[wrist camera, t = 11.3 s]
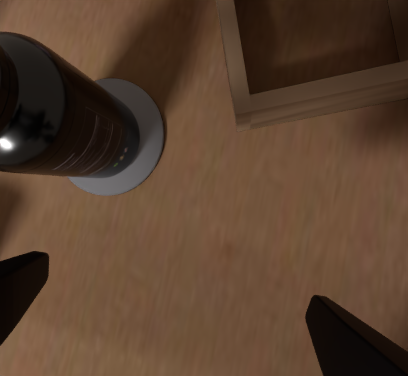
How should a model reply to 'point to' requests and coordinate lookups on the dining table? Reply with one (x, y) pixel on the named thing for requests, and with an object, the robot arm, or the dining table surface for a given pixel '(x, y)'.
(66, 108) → the supplement bottle
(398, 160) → the dining table surface
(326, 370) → the robot arm
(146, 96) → the coaster
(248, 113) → the walnut box
